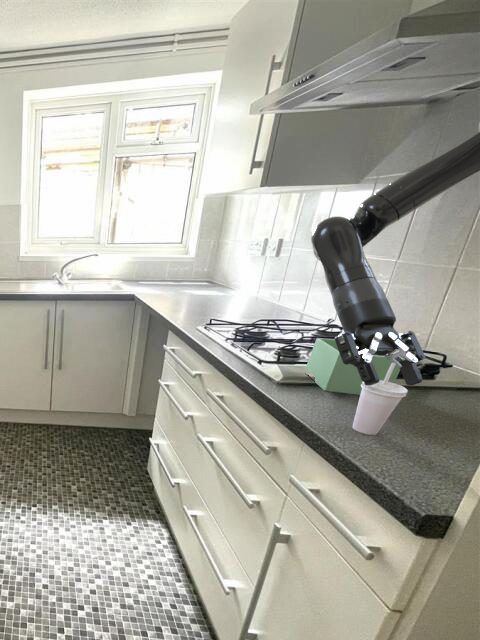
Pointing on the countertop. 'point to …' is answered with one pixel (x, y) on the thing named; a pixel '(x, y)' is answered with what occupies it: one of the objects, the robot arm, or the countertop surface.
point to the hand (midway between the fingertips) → (394, 383)
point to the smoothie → (377, 404)
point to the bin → (342, 368)
